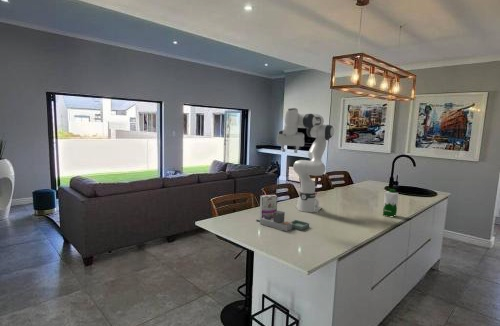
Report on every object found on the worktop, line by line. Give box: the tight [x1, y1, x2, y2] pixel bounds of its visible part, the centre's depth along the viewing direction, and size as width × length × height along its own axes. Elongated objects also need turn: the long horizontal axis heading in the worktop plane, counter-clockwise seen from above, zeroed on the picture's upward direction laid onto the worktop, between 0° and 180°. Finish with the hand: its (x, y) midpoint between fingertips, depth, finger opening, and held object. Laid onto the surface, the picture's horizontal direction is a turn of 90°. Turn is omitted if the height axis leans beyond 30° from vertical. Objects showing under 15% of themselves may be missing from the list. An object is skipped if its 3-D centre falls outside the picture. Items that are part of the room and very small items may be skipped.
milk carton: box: [382, 188, 399, 217], centre depth 221 cm, size 9×9×20 cm
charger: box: [273, 210, 286, 223], centre depth 186 cm, size 5×5×8 cm
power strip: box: [256, 215, 293, 232], centre depth 189 cm, size 26×7×6 cm, turn 52°
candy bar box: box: [259, 194, 278, 220], centre depth 203 cm, size 11×5×16 cm, turn 105°
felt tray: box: [289, 219, 310, 232], centre depth 188 cm, size 10×10×2 cm
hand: (289, 152), depth 200 cm, fingers open, 8 cm apart
